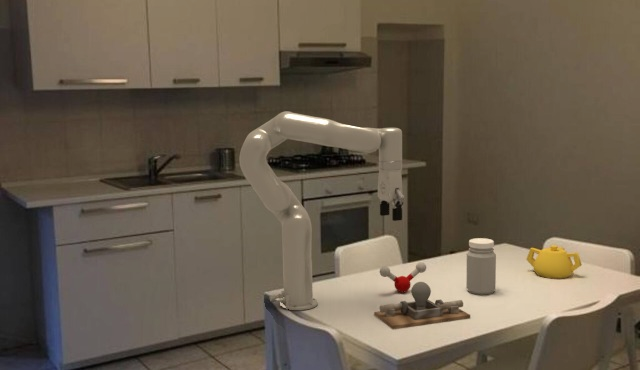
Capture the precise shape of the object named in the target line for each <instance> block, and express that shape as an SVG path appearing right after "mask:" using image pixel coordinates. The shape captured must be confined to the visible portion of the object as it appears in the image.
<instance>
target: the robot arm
mask: <svg viewBox="0 0 640 370" xmlns="http://www.w3.org/2000/svg"><path fill="white" fill-rule="evenodd" d="M286 140H293V141H298V142H302V143H303V142H304V143H311V144H314V145H320V146H325V147H331V148H332V147H333V148H337V149H338V148H340V149H342V150H349V151H354V152H361V153H367V154H369V153H374V152H376V151H377V150H378V179H377V198H378V199H379V215H380V216H381V217H382V216H390V202H391V204H392V208H391V209H392V211H391V212H392V213H391V214H392V215H391V216H392V221H393V222H395V221H398V222H399V221H402V220H403V207H404V206H403V205H404V198H405V195H404V194H403V191H404V190H403V177H402V176H403V175H402V171H403V131H402V129H400V128H398V127H383V128H374V127H359V126H354V125H349V124H344V123H340V122H337V121H336V120H333V119H328V118H324V117H318V116H311V115H307V114H301V113H296V112H292V111H281V112H280V113H277V115H275V116H274V117H273V118H271V119H270V120H268V121H266V122H265V123H263V124H261V125H260V126H259V127H257V128H256V129H253V130H252V131H251V132H249V133H248V135H246V138H245V140H244V142H243V144H242V145H241V149H240V152H239V159H238V160H239V166H240V170H241V172H242V174H243V177H244V178H245V179H246V181H247V182H248V183H249V184H250V186H251V188H252V189H253V191H254V192H255V193H256V195H257V196H258V197H259V199H260V200H261V202H262V203H263V205H264V207H265V208H266V209H267V210H268V211H270V212H271V213H272V214H273V215H274V217H275V218H276V219H277V221H278V222H279V223H280V224H281V241H282V243H281V244H282V247H281V248H282V275H283V277H282V278H283V290H281V292H280V293H278V295H277V294H276V295H275V294H274V295H269V302H270V303H271V302H275V303H279V302H281V303H283V304H284V305H285V306H286V308H287V309H286V310H288V309H289V310H288V311H305V310H309V309H311V310H312V309H313V308H316V307H317V306H318V299H316V298H315V297H314V295H313V293H314V291H313V259H312V250H313V249H312V243H313V241H312V240H313V239H312V238H313V237H312V234H313V233H312V232H313V231H312V230H313V229H312V228H313V227H312V220H311V218H310V215H309V212H307V210H306V208H305V207H304V206H303V205H302V203H301V202H300V201H299V199H298V198H297V196H296V195H295V194H294V192H293V191H292V190H291V188H290V187H289V186H288V184H286V183H285V182H283V181H281V179H280V178H278V176H277V175H276V174H275V171H274V170H273V168H272V167H271V166H270V165H269V163H268V160H267V156H268V154H269V152H270V151H271V150H272V149H274V148H276V147H277V146H279V145H280V144H282V143H283V142H285V141H286Z"/></svg>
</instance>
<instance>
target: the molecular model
mask: <svg viewBox="0 0 640 370" xmlns="http://www.w3.org/2000/svg"><path fill="white" fill-rule="evenodd" d="M426 271H427V265H426V264H425V263H424V262H421V261H420V262H417V264H415V268H414V270H413V271H411V273H409V274H408V275H407V276H404V275H401V276H396V275H395V274H394V273H392V272H391V269H390V268H389V267H388V266H386V265H384V266H381V267H380V269H379V275H380V276H382V277H383V278H386V277H387V278H388V279H390V280H391V281H392V282H394V283H393V284H394V288H395V290H396V291H398V292H400V293H406V292H408V290H410V288H411V281H412V280H413V279H414V278H415V277H416V276H417V275H419V274H421V273H422V274H423V273H424V272H426Z"/></svg>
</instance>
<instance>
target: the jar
mask: <svg viewBox="0 0 640 370" xmlns="http://www.w3.org/2000/svg"><path fill="white" fill-rule="evenodd" d="M468 246H469V248H468V250H469V251H468V252H467V253H466V285H465V286H466V290H468V292H469V293H470V294H473V295H478V296H486V295H491V294H493V292H495V290H496V283H497V281H496V278H497V277H496V275H497V273H496V270H497V269H496V267H497V255H496V253H495V252H494V251H495V249H494V247H495V241H494V240H493V239H489V238H486V237H483V238H481V237H480V238H479V237H477V238H476V237H475V238H471V239H469V241H468Z"/></svg>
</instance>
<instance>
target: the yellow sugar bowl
mask: <svg viewBox="0 0 640 370" xmlns="http://www.w3.org/2000/svg"><path fill="white" fill-rule="evenodd" d="M535 254H537V256H536V257H535V258H534V256H535ZM572 257H573V261H572V259H571V258H572ZM526 261H527V262H528V263H529V265H531V267H532V269H533V271H534V272H535V274H536V275H537V276H539V277H542V278H547V279H557V280H558V279H559V280H560V279H566V278H569V277H571V275H572V274H573V273H574V272H575V271H576V270H577V269H578V268H580V267H581V266H582V261H581V259H580V254H579V252H567V250H565V248H564V247H562V246H558V245H556V244H552V245H549V247H545V248H542V249H539V248H534V247H530V249H529V250H528V254H527V256H526ZM573 262H574V263H573Z"/></svg>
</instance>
